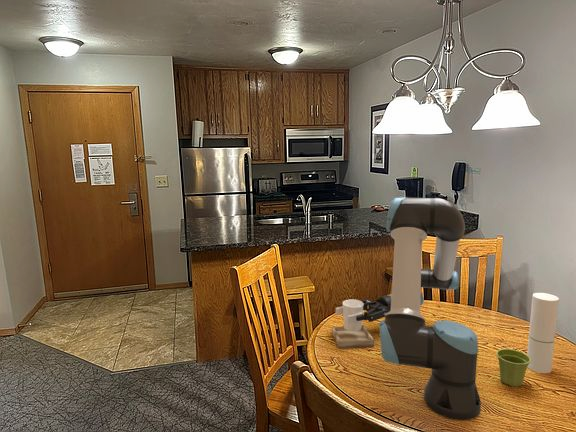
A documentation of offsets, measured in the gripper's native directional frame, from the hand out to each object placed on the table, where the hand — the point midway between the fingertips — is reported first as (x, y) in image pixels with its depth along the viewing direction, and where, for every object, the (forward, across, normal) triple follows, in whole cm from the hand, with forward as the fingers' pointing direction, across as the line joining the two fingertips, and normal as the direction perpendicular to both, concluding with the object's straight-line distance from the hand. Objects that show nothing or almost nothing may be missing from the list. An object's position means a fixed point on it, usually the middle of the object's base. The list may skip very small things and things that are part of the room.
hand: (342, 315), depth 151 cm
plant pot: (-32, -46, -11) cm, 58 cm away
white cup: (-5, 0, -6) cm, 8 cm away
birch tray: (-5, 0, -11) cm, 12 cm away
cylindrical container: (-48, -46, -11) cm, 67 cm away
